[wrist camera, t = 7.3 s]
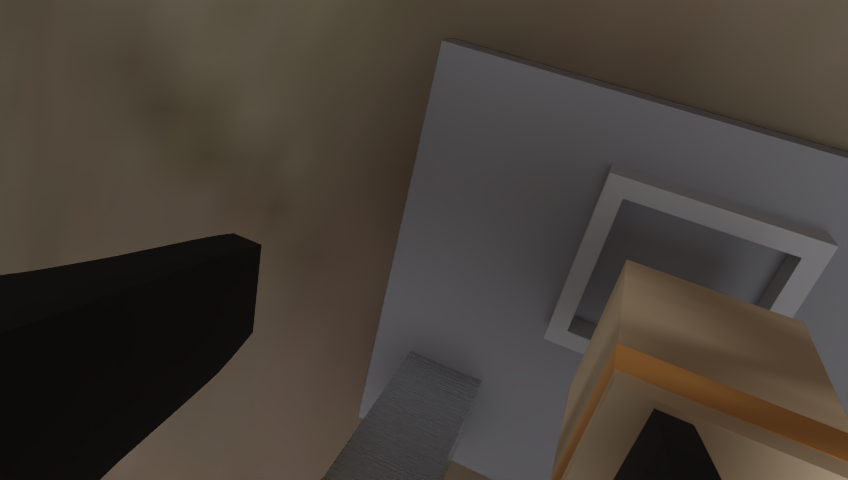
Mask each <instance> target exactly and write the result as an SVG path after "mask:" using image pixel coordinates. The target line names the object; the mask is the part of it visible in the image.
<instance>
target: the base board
mask: <svg viewBox="0 0 848 480" xmlns="http://www.w3.org/2000/svg"><path fill="white" fill-rule="evenodd" d="M626 260H630V261H633V262H635V263H638V264H641V265H644V266H647V267H649V268H652V269H655V270H658V271H661V272H664V273H666V274H669V275H672V276H675V277H678V278H680V279H683V280H686V281H689V282H692V283H694V284H697V285H700V286H703V287H706V288H708V289H711V290H714V291H717V292H720V293H722V294H725V295H728V296H731V297H734V298H737V299H739V300H742V301H745V302H748V303H751V304H753V305H756V306H759V307H762V308H765V309H767V310H770V311H773V312H776V313H779V314H781V315H784V316H787V317H790V318H793V319H795V320H798V321H801V322H804V323H805V325H806V328H807V330H808V332H809V334H810V336H811V339H812V341H813V343H814V345H815V348H816V350H817V352H818V354H819V356H820V359H821V361H822V363H823V365H824V368H825V370H826V372H827V374H828V376H829V379H830V381H831V383H832V385H833V388H834V390H835V392H836V394H837V396H838V399H839V401H840V403H841V405H842V408H843V410H844V412H845V414H846V416H847V419H848V152H845V151H842V150H838V149H835V148H831V147H828V146H824V145H821V144H817V143H814V142H810V141H807V140H803V139H800V138H797V137H793V136H790V135H786V134H783V133H779V132H776V131H772V130H769V129H765V128H762V127H758V126H755V125H751V124H748V123H745V122H741V121H738V120H734V119H731V118H727V117H724V116H720V115H717V114H713V113H710V112H706V111H703V110H699V109H696V108H693V107H689V106H686V105H682V104H679V103H675V102H672V101H668V100H665V99H661V98H658V97H654V96H651V95H647V94H644V93H641V92H637V91H634V90H630V89H627V88H623V87H620V86H616V85H613V84H609V83H606V82H602V81H599V80H595V79H592V78H589V77H585V76H582V75H578V74H575V73H571V72H568V71H564V70H561V69H557V68H554V67H550V66H547V65H543V64H540V63H537V62H533V61H530V60H526V59H523V58H519V57H516V56H512V55H509V54H505V53H502V52H498V51H495V50H491V49H488V48H485V47H481V46H478V45H474V44H471V43H467V42H464V41H460V40H457V39H453V38H450V39H446V40H442V42H441V47H440V51H439V56H438V60H437V65H436V69H435V74H434V78H433V83H432V87H431V92H430V96H429V101H428V105H427V110H426V114H425V119H424V123H423V128H422V132H421V137H420V141H419V146H418V150H417V155H416V159H415V164H414V168H413V173H412V177H411V182H410V186H409V191H408V195H407V200H406V204H405V209H404V213H403V218H402V222H401V227H400V231H399V236H398V240H397V245H396V249H395V254H394V258H393V263H392V267H391V272H390V276H389V281H388V285H387V290H386V294H385V299H384V303H383V308H382V312H381V317H380V321H379V326H378V330H377V335H376V339H375V344H374V348H373V353H372V357H371V362H370V366H369V371H368V375H367V380H366V384H365V389H364V393H363V398H362V402H361V407H360V411H359V415H358V417H360V418H362V419H364V417H365V416H366V415H367V413H368V412H369V410H370V409H371V407H372V406H373V404H374V403H375V401H376V400H377V398H378V397H379V396H380V394H381V393H382V391H383V390H384V388H385V387H386V385H387V384H388V382H389V381H390V380H391V378H392V377H393V375H394V374H395V372H396V371H397V369H398V368H399V366H400V365H401V363H402V362H403V361H404V359H405V358H406V356H407V355H408V353H409V352H410V351H412V352H415V353H417V354H419V355H422V356H424V357H426V358H429V359H431V360H433V361H436V362H438V363H440V364H443V365H445V366H447V367H450V368H452V369H454V370H457V371H459V372H461V373H464V374H466V375H468V376H471V377H473V378H475V379H478V380H480V381H482V382H481V385H480V388H479V391H478V393H477V396H476V399H475V402H474V405H473V408H472V411H471V413H470V416H469V419H468V422H467V425H466V428H465V431H464V433H463V436H462V439H461V441H460V443H459V446H458V448H457V450H456V452H455V455H454V457H453V459H452V461H454V462H456V463H458V464H460V465H462V466H464V467H466V468H469V469H471V470H473V471H475V472H477V473H479V474H481V475H484V476H486V477H488V478H490V479H492V480H550V478H551V474H552V469H553V464H554V460H555V455H556V451H557V446H558V441H559V437H560V432H561V428H562V423H563V418H564V414H565V409H566V405H567V400H568V395H569V391H570V386H571V383H572V380H573V378H574V376H575V374H576V371H577V369H578V367H579V365H580V363H581V360H582V358H583V356H584V354H585V351H586V349H587V347H588V345H589V342H590V340H591V338H592V336H593V334H594V331H595V329H596V327H597V325H598V322H599V320H600V318H601V316H602V314H603V311H604V309H605V307H606V305H607V302H608V300H609V298H610V296H611V293H612V291H613V289H614V287H615V285H616V282H617V280H618V278H619V276H620V273H621V271H622V269H623V267H624V265H625V262H626Z"/></svg>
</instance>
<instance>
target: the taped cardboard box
mask: <svg viewBox="0 0 848 480" xmlns="http://www.w3.org/2000/svg"><path fill="white" fill-rule="evenodd" d="M654 408H655V409H657V410H659V411H662V412H664V413H667V414H669V415H672V416H674V417H676V418H679V419H681V420H684V421H686V422H688V423H691V424H693V425H694V426H695V428H696V430H697V432H698V433H699V435H700V437H701V439H702V441H703V443H704V445H705V447H706V449H707V451H708V453H709V455H710V457H711V459H712V461H713V463H714V465H715V467H716V469H717V471H718V473H719V475H720V477H721V479H722V480H848V419H847V416H846V414H845V412H844V410H843V408H842V405H841V403H840V401H839V399H838V396H837V394H836V392H835V390H834V388H833V385H832V383H831V381H830V379H829V376H828V374H827V372H826V370H825V368H824V365H823V363H822V361H821V359H820V356H819V354H818V352H817V350H816V348H815V345H814V343H813V341H812V339H811V336H810V334H809V332H808V330H807V328H806V325H805V323H804V322H801V321H798V320H795V319H793V318H790V317H787V316H784V315H781V314H779V313H776V312H773V311H770V310H767V309H765V308H762V307H759V306H756V305H753V304H751V303H748V302H745V301H742V300H739V299H737V298H734V297H731V296H728V295H725V294H722V293H720V292H717V291H714V290H711V289H708V288H706V287H703V286H700V285H697V284H694V283H692V282H689V281H686V280H683V279H680V278H678V277H675V276H672V275H669V274H666V273H664V272H661V271H658V270H655V269H652V268H649V267H647V266H644V265H641V264H638V263H635V262H633V261H630V260H626V262H625V265H624V267H623V269H622V271H621V273H620V276H619V278H618V280H617V282H616V285H615V287H614V289H613V291H612V293H611V296H610V298H609V300H608V302H607V305H606V307H605V309H604V311H603V314H602V316H601V318H600V320H599V322H598V325H597V327H596V329H595V331H594V334H593V336H592V338H591V340H590V342H589V345H588V347H587V349H586V351H585V354H584V356H583V358H582V360H581V363H580V365H579V367H578V369H577V371H576V374H575V376H574V378H573V380H572V383H571V386H570V391H569V395H568V400H567V405H566V409H565V414H564V418H563V423H562V428H561V432H560V437H559V441H558V446H557V451H556V455H555V460H554V464H553V469H552V474H551V478H550V480H613V479H614V477H615V476H616V474H617V472H618V470H619V469H620V467H621V465H622V463H623V462H624V460H625V458H626V456H627V455H628V453H629V451H630V449H631V448H632V446H633V444H634V442H635V441H636V439H637V437H638V436H639V434H640V432H641V430H642V429H643V427H644V425H645V423H646V422H647V420H648V418H649V416H650V415H651V413H652V411H653V409H654Z"/></svg>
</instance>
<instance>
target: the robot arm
mask: <svg viewBox="0 0 848 480" xmlns="http://www.w3.org/2000/svg"><path fill="white" fill-rule="evenodd" d="M260 254H261V245H260V244H258V243H256V242H253V241H251V240H248V239H246V238H244V237H241V236H239V235H236V234H234V233H233V234H225V235H218V236H212V237H206V238H201V239H196V240H191V241H186V242H181V243H176V244H172V245H167V246H162V247H157V248H153V249H148V250H143V251H138V252H134V253H129V254H124V255H119V256H114V257H109V258H104V259H98V260H92V261H87V262H81V263H76V264H70V265H64V266H59V267H53V268H47V269H42V270H35V271H28V272H21V273H14V274H6V275H0V480H100V479H101V478H102V477H103V476H104V475H105V474H106V473H107V472H108V471H109V470H110V469H112V468H113V467H114V466H115V465H116V464H117V463H118V462H119V461H120V460H121V459H122V458H123V457H124V456H125V455H127V454H128V453H129V452H130V451H131V450H132V449H133V448H135V447H136V446H137V445H138V444H139V443H140V442H141V441H142V440H144V439H145V438H146V437H147V436H148V435H149V434H150V433H151V432H153V431H154V430H155V429H156V428H157V427H158V426H159V425H161V424H162V423H163V422H164V421H165V420H166V419H167V418H168V417H170V416H171V415H172V414H173V413H174V412H175V411H176V410H177V409H179V408H180V407H181V406H182V405H183V404H184V403H185V402H187V401H188V400H189V399H190V398H191V397H192V396H193V395H194V394H195V393H196V392H198V391H199V390H200V389H201V388H202V387H203V386H204V385H205V384H206V383H208V382H209V381H210V380H211V379H212V378H213V377H214V376H215V375H216V374H217V373H218V372H219V371H220V370H221V369H222V368H223V367H224V366H225V364H226V363H227V362H228V361H229V360H230V359H231V358H232V357H233V355H234V354H235V353H236V352H237V351H238V350H239V348H240V347H241V346H242V345H243V343H244V342H245V341H246V340H247V339H248V337H249V336H250V335H251V334H252V333H253V325H254V315H255V304H256V294H257V284H258V274H259V264H260ZM613 480H722V479H721V477H720V475H719V473H718V471H717V469H716V467H715V465H714V463H713V461H712V459H711V457H710V455H709V453H708V451H707V449H706V447H705V445H704V443H703V441H702V439H701V437H700V435H699V433H698V432H697V430H696V428H695V426H694V425H693V424H691V423H688V422H686V421H684V420H681V419H679V418H676V417H674V416H672V415H669V414H667V413H664V412H662V411H659V410H657V409H655V408H654V409H653V411H652V413H651V415H650V416H649V418H648V420H647V422H646V423H645V425H644V427H643V429H642V430H641V432H640V434H639V436H638V437H637V439H636V441H635V442H634V444H633V446H632V448H631V449H630V451H629V453H628V455H627V456H626V458H625V460H624V462H623V463H622V465H621V467H620V469H619V470H618V472H617V474H616V476H615V477H614V479H613Z"/></svg>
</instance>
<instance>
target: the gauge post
mask: <svg viewBox="0 0 848 480" xmlns="http://www.w3.org/2000/svg"><path fill="white" fill-rule="evenodd" d="M481 382H482V381H480V380H478V379H475V378H473V377H471V376H468V375H466V374H464V373H461V372H459V371H457V370H454V369H452V368H450V367H447V366H445V365H443V364H440V363H438V362H436V361H433V360H431V359H429V358H426V357H424V356H422V355H419V354H417V353H415V352H412V351H410V352H409V353H408V355H407V356H406V358H405V359H404V361H403V362H402V363H401V365H400V366H399V368H398V369H397V371H396V372H395V374H394V375H393V377H392V378H391V380H390V381H389V382H388V384H387V385H386V387H385V388H384V390H383V391H382V393H381V394H380V396H379V397H378V398H377V400H376V401H375V403H374V404H373V406H372V407H371V409H370V410H369V412H368V413H367V415H366V416H365V417H364V419H363V420H362V422H361V423H360V425H359V426H358V428H357V429H356V431H355V432H354V433H353V435H352V436H351V438H350V439H349V441H348V442H347V444H346V445H345V447H344V448H343V450H342V451H341V452H340V454H339V455H338V457H337V458H336V460H335V461H334V463H333V464H332V466H331V467H330V468H329V470H328V471H327V473H326V474H325V476H324V477H323V478H322V479H321V480H444V478H445V475H446V473H447V471H448V468H449V466H450V464H451V462H452V459H453V457H454V455H455V452H456V450H457V448H458V446H459V443H460V441H461V439H462V436H463V433H464V431H465V428H466V425H467V422H468V419H469V416H470V413H471V411H472V408H473V405H474V402H475V399H476V396H477V393H478V391H479V388H480V385H481Z"/></svg>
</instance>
